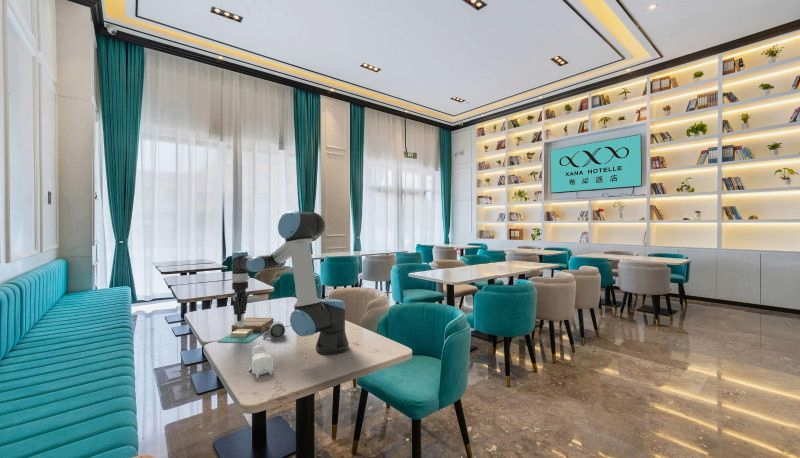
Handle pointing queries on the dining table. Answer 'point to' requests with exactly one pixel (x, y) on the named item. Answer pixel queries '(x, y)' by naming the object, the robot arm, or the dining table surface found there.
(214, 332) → the dining table surface
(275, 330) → the ceramic mug
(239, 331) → the oak coaster
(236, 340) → the teal mat
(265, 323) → the walnut riser
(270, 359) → the white animal figurine
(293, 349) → the dining table surface
